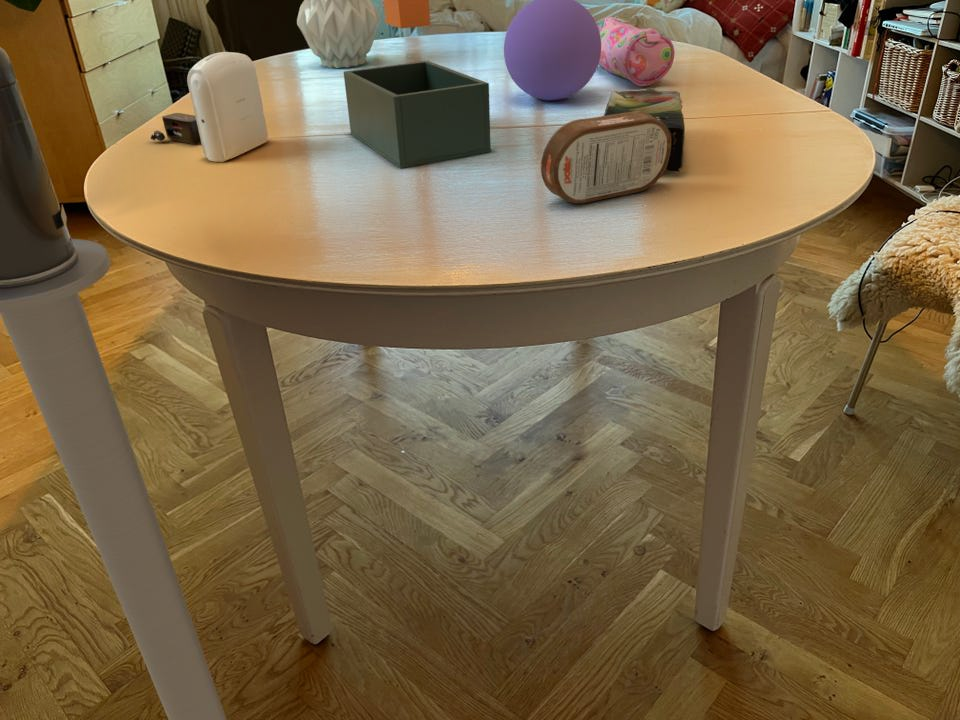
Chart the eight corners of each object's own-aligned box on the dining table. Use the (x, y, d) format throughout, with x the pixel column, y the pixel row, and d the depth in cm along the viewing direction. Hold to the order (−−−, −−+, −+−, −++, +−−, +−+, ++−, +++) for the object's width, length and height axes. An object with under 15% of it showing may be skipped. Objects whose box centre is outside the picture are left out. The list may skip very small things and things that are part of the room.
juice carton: (604, 128, 105) (607, 82, 101) (677, 130, 103) (682, 83, 100) (595, 176, 88) (599, 123, 85) (682, 179, 86) (689, 125, 83)
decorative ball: (573, 85, 129) (575, -13, 122) (615, 103, 117) (622, -4, 109) (491, 94, 125) (488, -6, 117) (526, 115, 113) (526, 5, 105)
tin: (655, 180, 86) (661, 104, 81) (672, 188, 83) (680, 110, 79) (538, 204, 81) (539, 123, 76) (553, 213, 78) (554, 131, 74)
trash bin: (400, 168, 93) (393, 96, 88) (350, 134, 107) (343, 71, 103) (490, 151, 98) (489, 83, 93) (432, 121, 112) (428, 60, 107)
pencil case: (582, 67, 142) (584, 14, 138) (629, 63, 144) (632, 11, 139) (621, 91, 124) (625, 31, 120) (674, 86, 126) (679, 28, 121)
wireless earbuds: (178, 134, 110) (173, 111, 109) (210, 140, 107) (205, 117, 105) (151, 142, 107) (145, 119, 105) (183, 149, 104) (177, 125, 102)
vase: (329, 76, 143) (314, -34, 133) (289, 65, 154) (273, -37, 144) (400, 63, 152) (391, -41, 142) (357, 54, 163) (346, -44, 153)
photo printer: (226, 163, 97) (205, 62, 91) (200, 161, 99) (176, 60, 92) (274, 142, 105) (257, 47, 99) (248, 139, 107) (230, 46, 100)
